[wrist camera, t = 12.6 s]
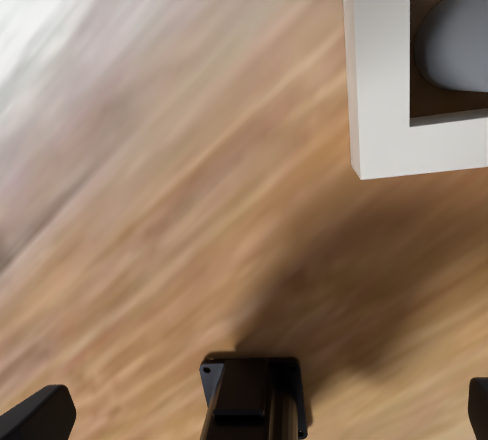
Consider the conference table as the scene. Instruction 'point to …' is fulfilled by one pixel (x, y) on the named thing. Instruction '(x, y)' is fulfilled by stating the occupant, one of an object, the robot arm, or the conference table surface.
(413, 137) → the socket block
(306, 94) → the conference table surface
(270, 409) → the robot arm
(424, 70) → the peg
